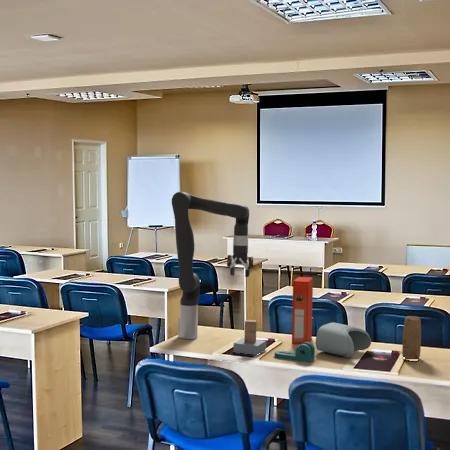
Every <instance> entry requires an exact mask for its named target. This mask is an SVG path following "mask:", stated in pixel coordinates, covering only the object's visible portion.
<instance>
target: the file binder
mask: <svg viewBox="0 0 450 450" xmlns="http://www.w3.org/2000/svg"><path fill="white" fill-rule="evenodd" d="M313 287H314V278H313V277H309V276H308V277H305V276H298V277H297V278H295V279H294V280H293V281H292V309H291V310H292V313H291V314H292V316H291V319H292V321H291V322H292V323H291V345H297V346H299V345H301V344H303V343H304V342H310V341H311V340H312V334H313V332H312V331H313V292H314V289H313Z"/></svg>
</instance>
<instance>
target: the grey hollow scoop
mask: <svg viewBox="0 0 450 450" xmlns="http://www.w3.org/2000/svg"><path fill="white" fill-rule="evenodd" d="M315 337H316V338H315V349H316V350H318V351H320V352H325V353H329V354H333V355H337V356H340V357H342V356H343V358H350V357H352V356H353V354H354V353H355V352H354V351H356V352H358V351H357V350H362V351H365V350H368V349H369V348H370V346H372V345H371V344H372V339H371V337H370V335H369V333H368V332H367V331H366V330H364V329H362V328H359V327H356V326H351V325H348V324H343V323H337V322H334V321H333V322H329V323H326V324H323V325H321V326H320V327H319V328H318V330H317V332H316V336H315Z"/></svg>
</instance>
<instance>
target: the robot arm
mask: <svg viewBox="0 0 450 450" xmlns="http://www.w3.org/2000/svg"><path fill="white" fill-rule="evenodd" d="M171 197H172V198H171V206H172V211H173V212H172V213H173V215H174V228H175V232H174V233H175V244H176V252H177V253H176V254H177V262H178V263H177V264H178V286H179V288H180V290H181V291H182V294H181V297H180V302H179V304H180V305H179V306H180V307H179V318H178V319H177V321H178V322H177V323H178V324H177V326H178V327H177V338H180V339H183V340H194V339H197V338H198V333H199V332H198V326H199V325H198V324H199V322H198V321H199V300H200V297H201V296H200V294H201V279H200V276H199V275H197V273H195V272H194V270H193V268H194V267H193V261H194V255H195V238H194V232H193V228H192V226H191V225H192V224H191V222H190V217H189V210H198V211H203V212H206V213H207V212H208V213H210V214H212V215H213V214H214V215H219V216H226V217H230V218H234V219H235V224H234V227H233V239H232V240H233V241H232V253H233V254H227V261H226V266H227V267H228V268H229V269H230V270H229V271H230V272H229V274H230V276H233V277H234V276H235V267H236V266H237V265H241V266H243V267H244V268H245V271H244V272H245V273H244V275H245V276H244V277H245V278H249V276H250V274H251V273H250V271H251V269H254V257H253V256H248V254H249V221H250V209H249V207H248V206H247V205H246V204H238V203H237V204H235V203H230V202H227V201H222V200H218V199H209V198H203V197H199V196H195V195H193V194H190V193H188V192H185V191H177V192H175V193H174V194H173V195H172V196H171Z"/></svg>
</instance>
